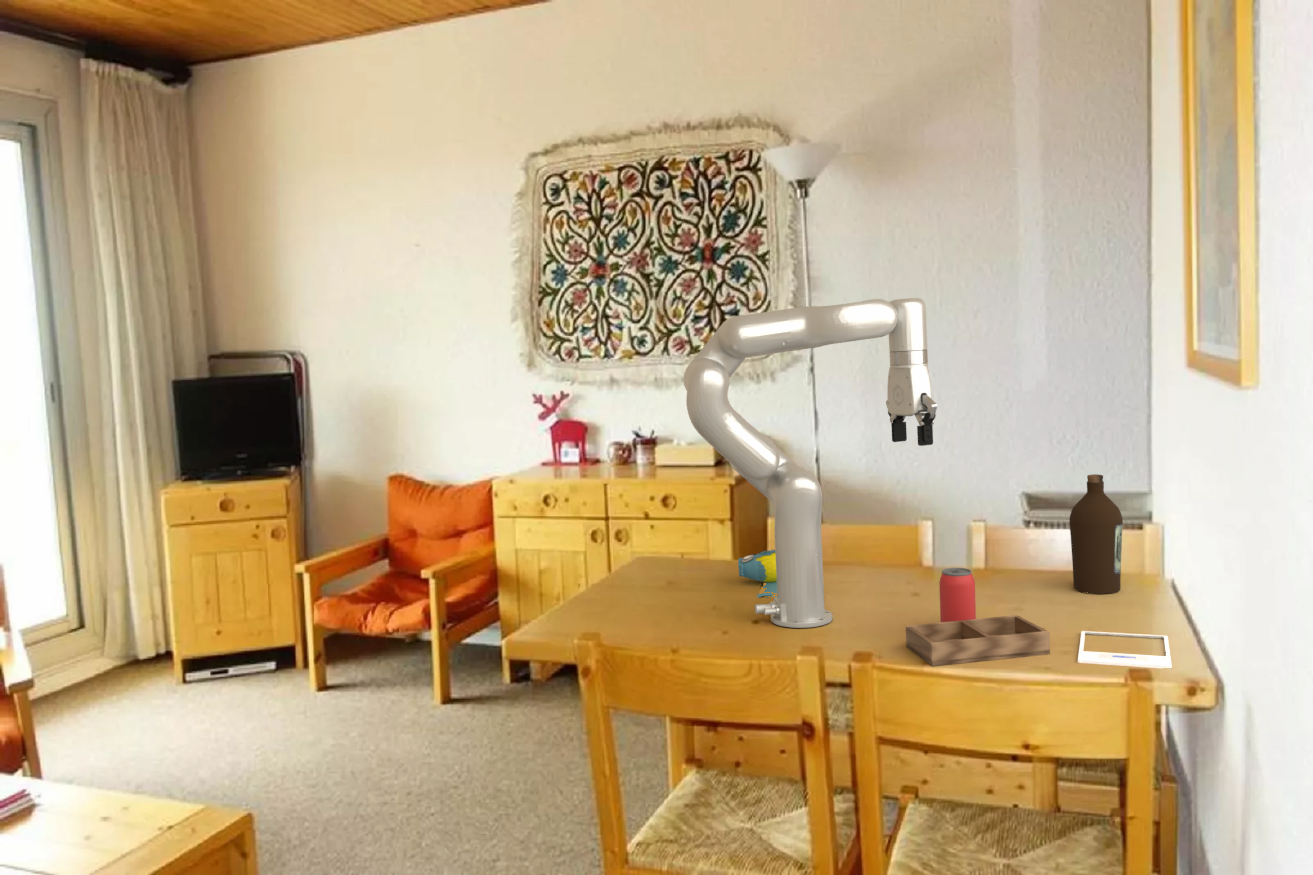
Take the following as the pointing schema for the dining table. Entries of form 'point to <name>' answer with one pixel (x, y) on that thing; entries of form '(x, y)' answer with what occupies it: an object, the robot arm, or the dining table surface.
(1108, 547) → the olive oil
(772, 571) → the fish figurine
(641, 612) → the dining table surface
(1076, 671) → the dining table surface
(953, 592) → the beer can
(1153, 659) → the photo frame
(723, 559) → the dining table surface
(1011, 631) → the crate
